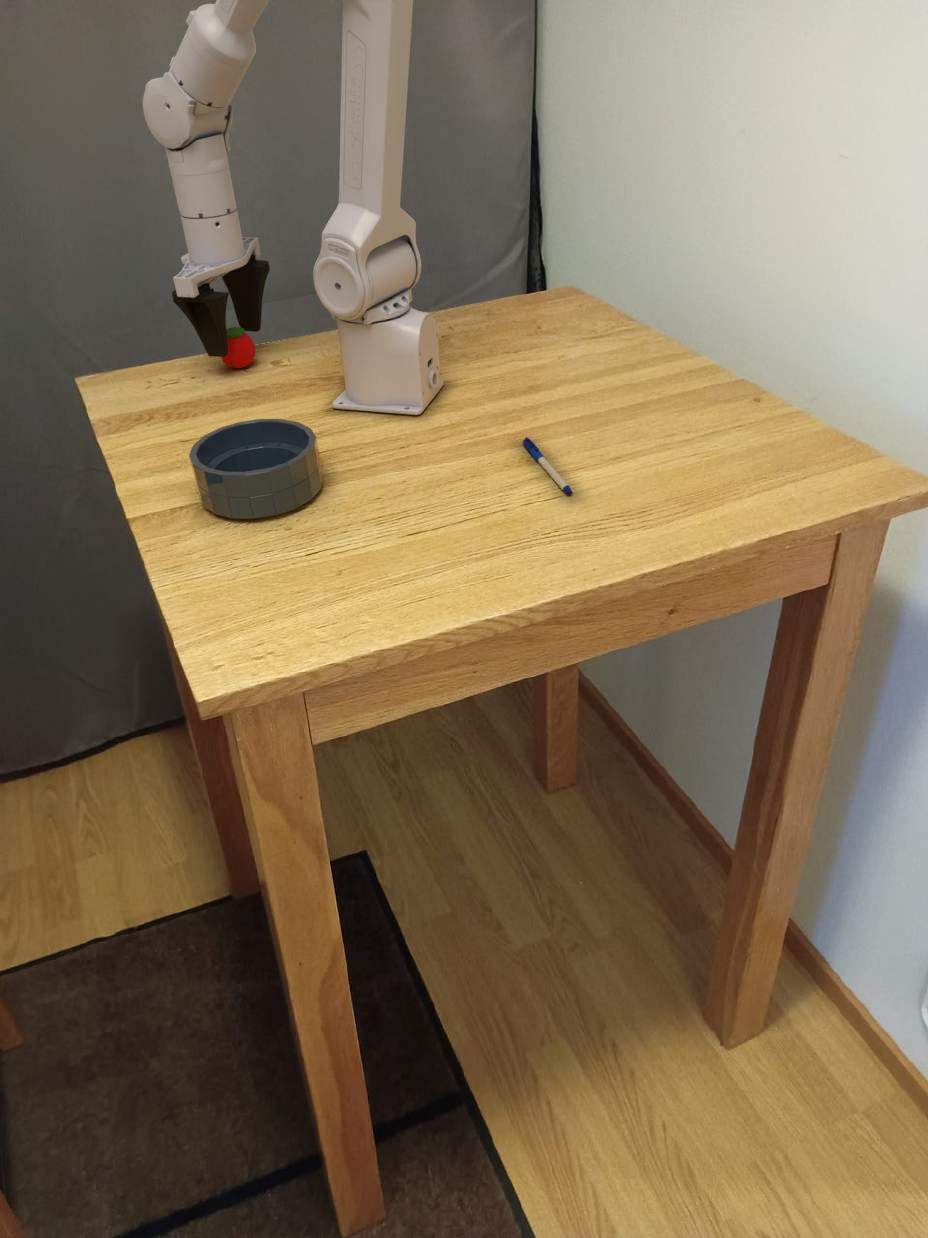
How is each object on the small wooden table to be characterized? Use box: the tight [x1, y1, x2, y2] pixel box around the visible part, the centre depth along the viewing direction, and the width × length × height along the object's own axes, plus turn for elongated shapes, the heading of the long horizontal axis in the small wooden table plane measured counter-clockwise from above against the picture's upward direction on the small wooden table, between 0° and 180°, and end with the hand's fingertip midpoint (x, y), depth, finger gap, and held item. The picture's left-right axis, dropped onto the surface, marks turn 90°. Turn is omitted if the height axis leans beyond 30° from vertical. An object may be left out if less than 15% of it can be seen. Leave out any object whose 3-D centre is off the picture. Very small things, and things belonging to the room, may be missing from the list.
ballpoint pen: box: [522, 436, 573, 496], centre depth 80 cm, size 10×1×1 cm, turn 19°
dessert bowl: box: [188, 418, 324, 520], centre depth 79 cm, size 10×10×4 cm
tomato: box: [220, 326, 256, 369], centre depth 103 cm, size 4×4×4 cm
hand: (235, 342), depth 102 cm, fingers open, 7 cm apart
